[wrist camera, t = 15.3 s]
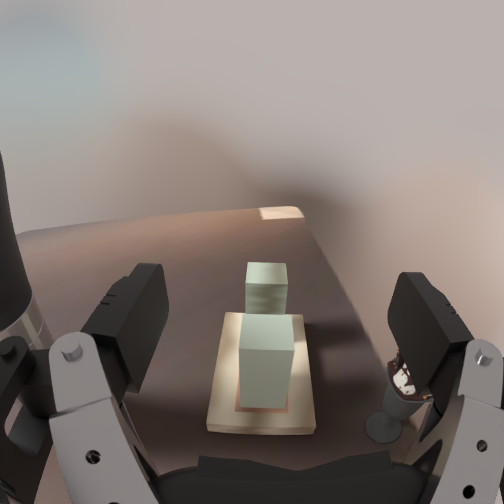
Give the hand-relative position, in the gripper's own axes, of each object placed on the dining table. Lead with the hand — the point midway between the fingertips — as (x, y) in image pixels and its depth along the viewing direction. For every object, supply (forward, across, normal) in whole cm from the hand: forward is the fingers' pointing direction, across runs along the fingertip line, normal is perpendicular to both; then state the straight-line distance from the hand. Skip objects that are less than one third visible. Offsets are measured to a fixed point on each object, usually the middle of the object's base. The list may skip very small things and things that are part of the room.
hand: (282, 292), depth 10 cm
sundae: (+8, -15, +26) cm, 31 cm away
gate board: (+18, 0, +26) cm, 32 cm away
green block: (+13, 0, +24) cm, 27 cm away
